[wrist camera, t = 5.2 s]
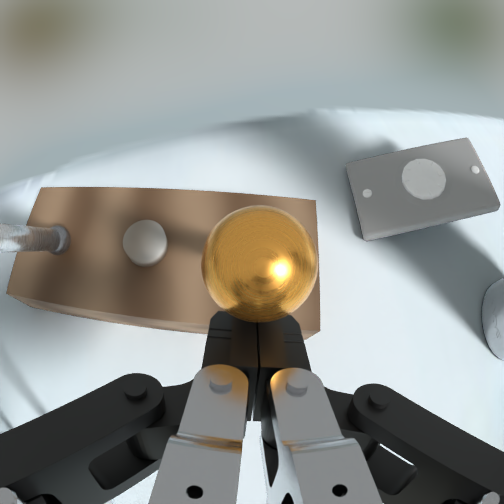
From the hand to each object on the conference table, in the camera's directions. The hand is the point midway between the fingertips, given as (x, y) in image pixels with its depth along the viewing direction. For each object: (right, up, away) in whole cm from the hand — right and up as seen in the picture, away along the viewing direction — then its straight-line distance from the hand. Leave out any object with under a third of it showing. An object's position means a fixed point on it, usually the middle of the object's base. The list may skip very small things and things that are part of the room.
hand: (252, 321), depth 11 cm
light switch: (+16, +7, +18) cm, 26 cm away
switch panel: (-8, +1, +13) cm, 16 cm away
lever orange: (0, +2, +10) cm, 10 cm away
